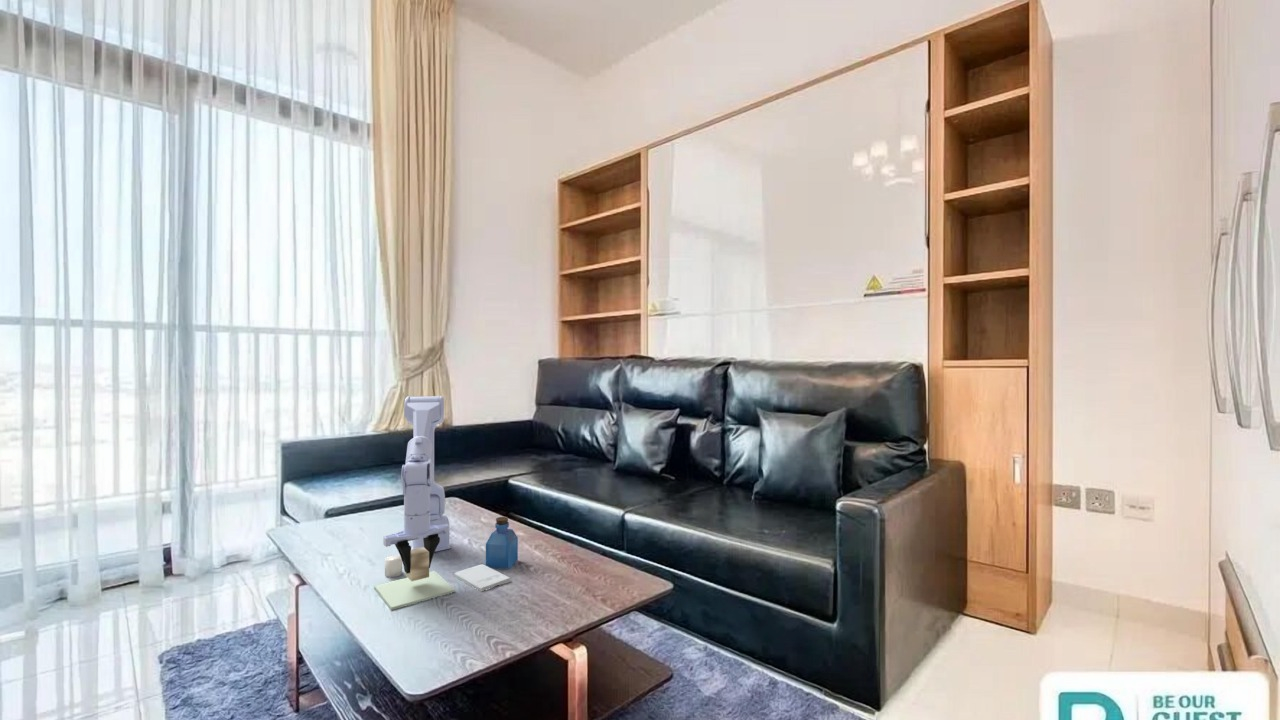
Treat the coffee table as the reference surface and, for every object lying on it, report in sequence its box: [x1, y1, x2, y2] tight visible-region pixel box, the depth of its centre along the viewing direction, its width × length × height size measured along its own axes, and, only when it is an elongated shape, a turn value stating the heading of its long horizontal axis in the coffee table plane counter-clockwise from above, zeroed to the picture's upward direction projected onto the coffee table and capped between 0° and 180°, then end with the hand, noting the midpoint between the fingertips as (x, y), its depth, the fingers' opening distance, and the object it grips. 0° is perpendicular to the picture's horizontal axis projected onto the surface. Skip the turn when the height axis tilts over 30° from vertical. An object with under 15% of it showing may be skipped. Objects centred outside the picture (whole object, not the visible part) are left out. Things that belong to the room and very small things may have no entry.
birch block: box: [405, 547, 430, 581], centre depth 129 cm, size 4×4×6 cm
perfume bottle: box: [485, 516, 519, 570], centre depth 144 cm, size 6×6×12 cm
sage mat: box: [373, 570, 456, 611], centre depth 128 cm, size 14×14×1 cm
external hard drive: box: [453, 563, 512, 592], centre depth 135 cm, size 2×8×12 cm
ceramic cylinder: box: [384, 554, 403, 578], centre depth 137 cm, size 4×4×4 cm
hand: (417, 569), depth 129 cm, fingers closed on birch block, 4 cm apart
